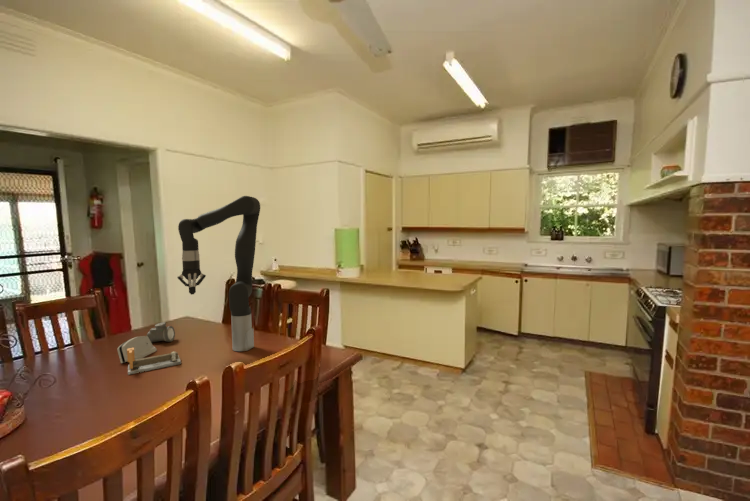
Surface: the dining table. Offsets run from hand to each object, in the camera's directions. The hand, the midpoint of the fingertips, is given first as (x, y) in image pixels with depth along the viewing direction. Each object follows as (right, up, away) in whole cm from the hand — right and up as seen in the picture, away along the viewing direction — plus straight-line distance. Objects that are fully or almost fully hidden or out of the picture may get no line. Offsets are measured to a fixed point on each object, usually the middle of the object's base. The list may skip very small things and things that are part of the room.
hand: (192, 294), depth 172 cm
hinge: (-21, -28, -10) cm, 36 cm away
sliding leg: (-12, -27, -26) cm, 40 cm away
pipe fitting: (-23, -27, +11) cm, 37 cm away
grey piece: (-5, -29, -22) cm, 36 cm away
